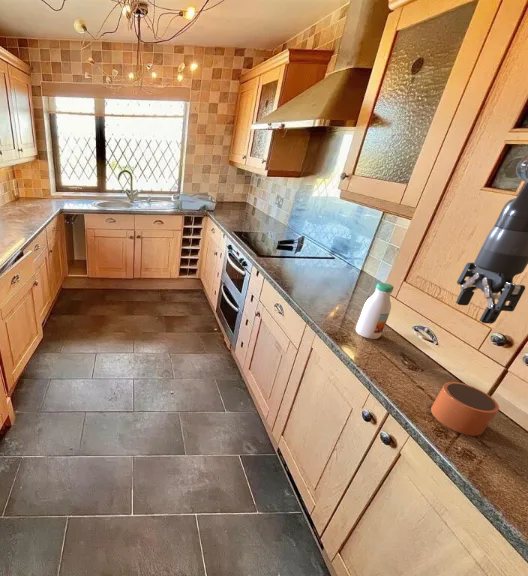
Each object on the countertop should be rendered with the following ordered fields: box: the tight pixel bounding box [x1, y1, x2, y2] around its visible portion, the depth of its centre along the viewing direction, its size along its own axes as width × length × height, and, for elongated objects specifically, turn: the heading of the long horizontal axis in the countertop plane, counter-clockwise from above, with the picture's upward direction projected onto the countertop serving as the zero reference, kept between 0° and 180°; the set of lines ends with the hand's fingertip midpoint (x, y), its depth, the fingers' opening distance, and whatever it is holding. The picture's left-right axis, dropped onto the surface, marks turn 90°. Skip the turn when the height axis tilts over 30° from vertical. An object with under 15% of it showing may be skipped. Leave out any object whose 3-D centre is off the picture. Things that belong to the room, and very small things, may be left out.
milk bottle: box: [355, 282, 394, 340], centre depth 109 cm, size 8×8×20 cm
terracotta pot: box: [430, 381, 500, 437], centre depth 78 cm, size 10×10×8 cm
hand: (473, 313), depth 73 cm, fingers open, 8 cm apart
